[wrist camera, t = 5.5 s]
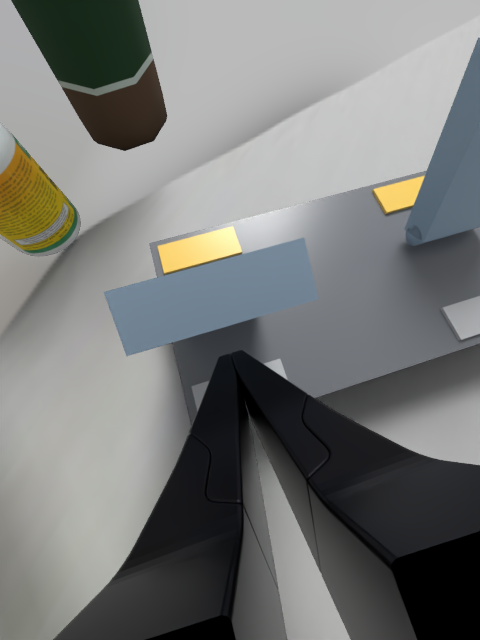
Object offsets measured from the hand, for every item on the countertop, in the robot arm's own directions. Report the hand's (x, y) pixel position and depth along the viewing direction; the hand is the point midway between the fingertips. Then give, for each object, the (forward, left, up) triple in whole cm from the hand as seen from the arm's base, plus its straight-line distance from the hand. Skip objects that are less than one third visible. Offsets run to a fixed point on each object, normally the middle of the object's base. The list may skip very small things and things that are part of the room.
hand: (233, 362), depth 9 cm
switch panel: (+4, -8, -8) cm, 12 cm away
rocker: (+5, 0, -4) cm, 6 cm away
